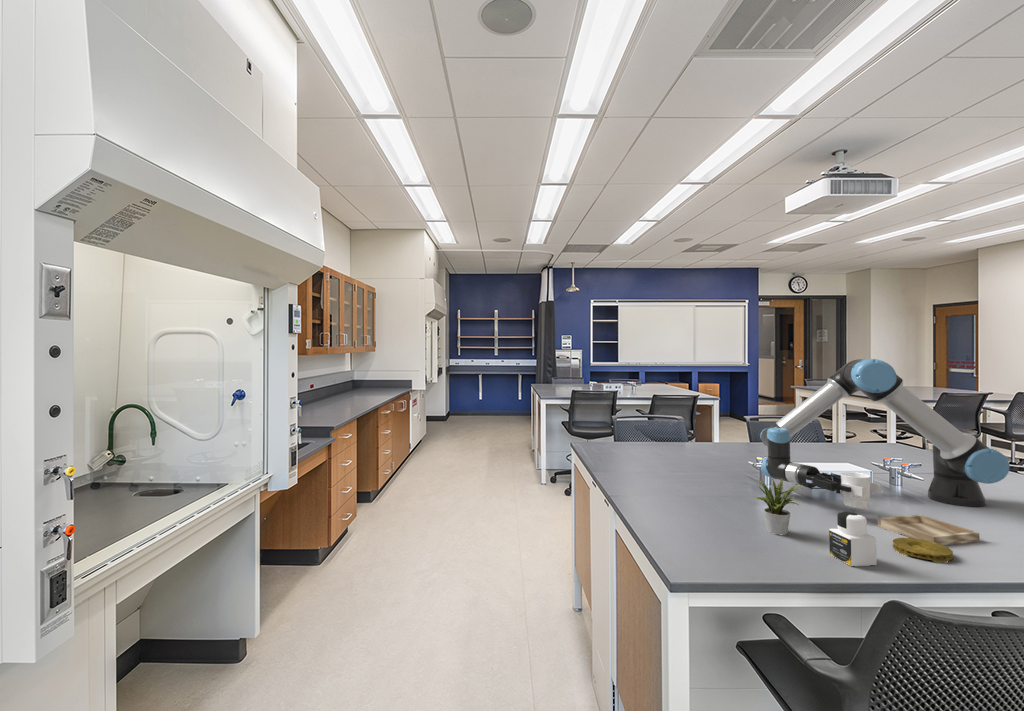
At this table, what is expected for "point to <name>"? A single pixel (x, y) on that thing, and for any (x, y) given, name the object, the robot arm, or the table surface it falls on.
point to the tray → (928, 529)
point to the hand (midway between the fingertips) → (871, 490)
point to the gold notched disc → (922, 549)
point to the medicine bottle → (852, 541)
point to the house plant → (777, 508)
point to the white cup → (856, 480)
